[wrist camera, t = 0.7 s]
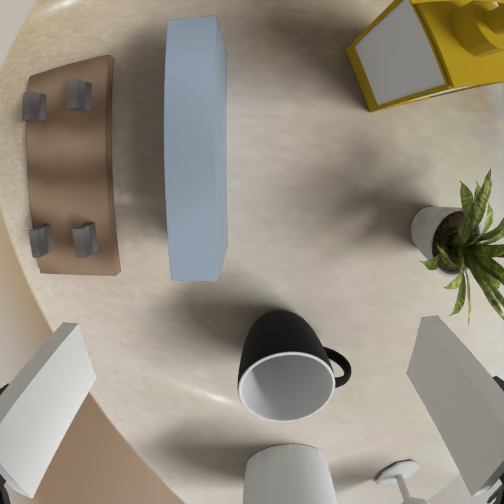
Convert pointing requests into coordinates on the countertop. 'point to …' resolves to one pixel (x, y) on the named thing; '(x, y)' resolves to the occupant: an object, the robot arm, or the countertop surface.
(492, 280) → the house plant
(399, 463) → the wineglass
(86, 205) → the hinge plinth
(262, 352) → the mug
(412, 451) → the countertop surface
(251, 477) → the utensil holder
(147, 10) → the countertop surface
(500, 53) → the soap bottle
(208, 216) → the door panel
